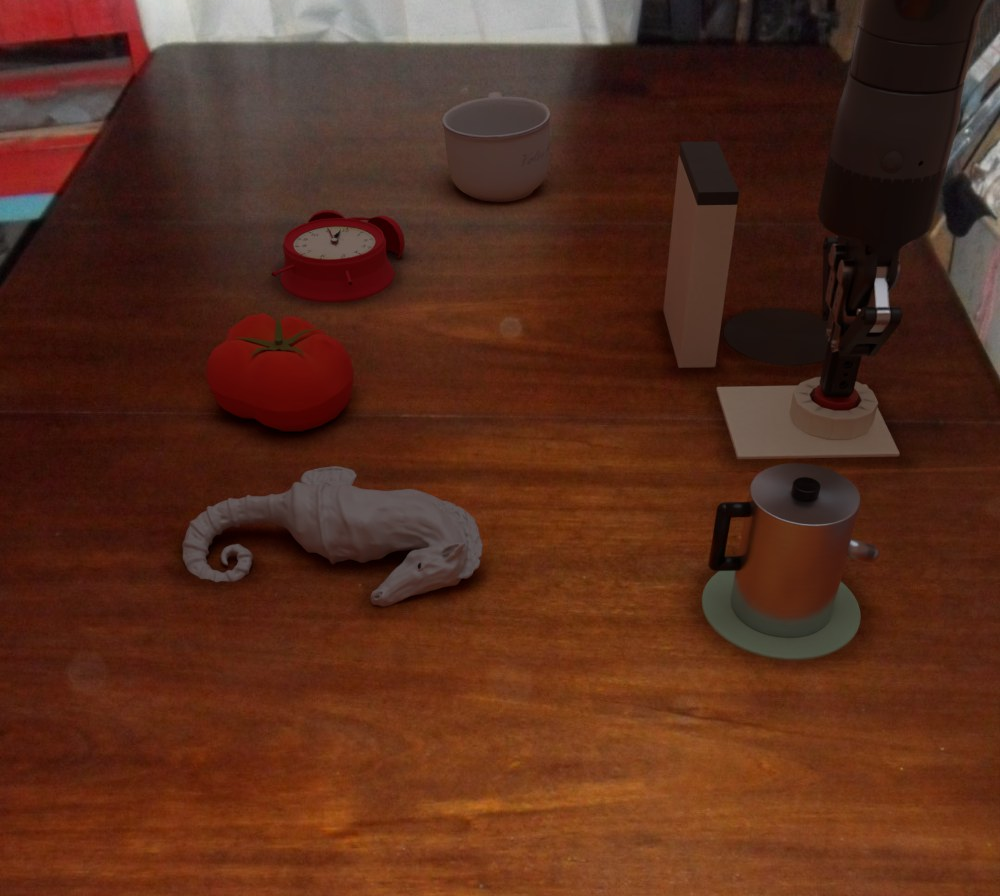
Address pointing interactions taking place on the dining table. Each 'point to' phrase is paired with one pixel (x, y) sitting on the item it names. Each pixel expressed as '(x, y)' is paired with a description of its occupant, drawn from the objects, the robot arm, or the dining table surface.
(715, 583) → the disc
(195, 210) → the dining table surface
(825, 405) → the power button
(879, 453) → the cream button base
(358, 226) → the alarm clock
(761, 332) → the coffee maker plate
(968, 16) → the robot arm
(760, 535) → the kettle
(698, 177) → the tower
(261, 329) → the tomato
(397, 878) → the dining table surface
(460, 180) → the teacup
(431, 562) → the seahorse
